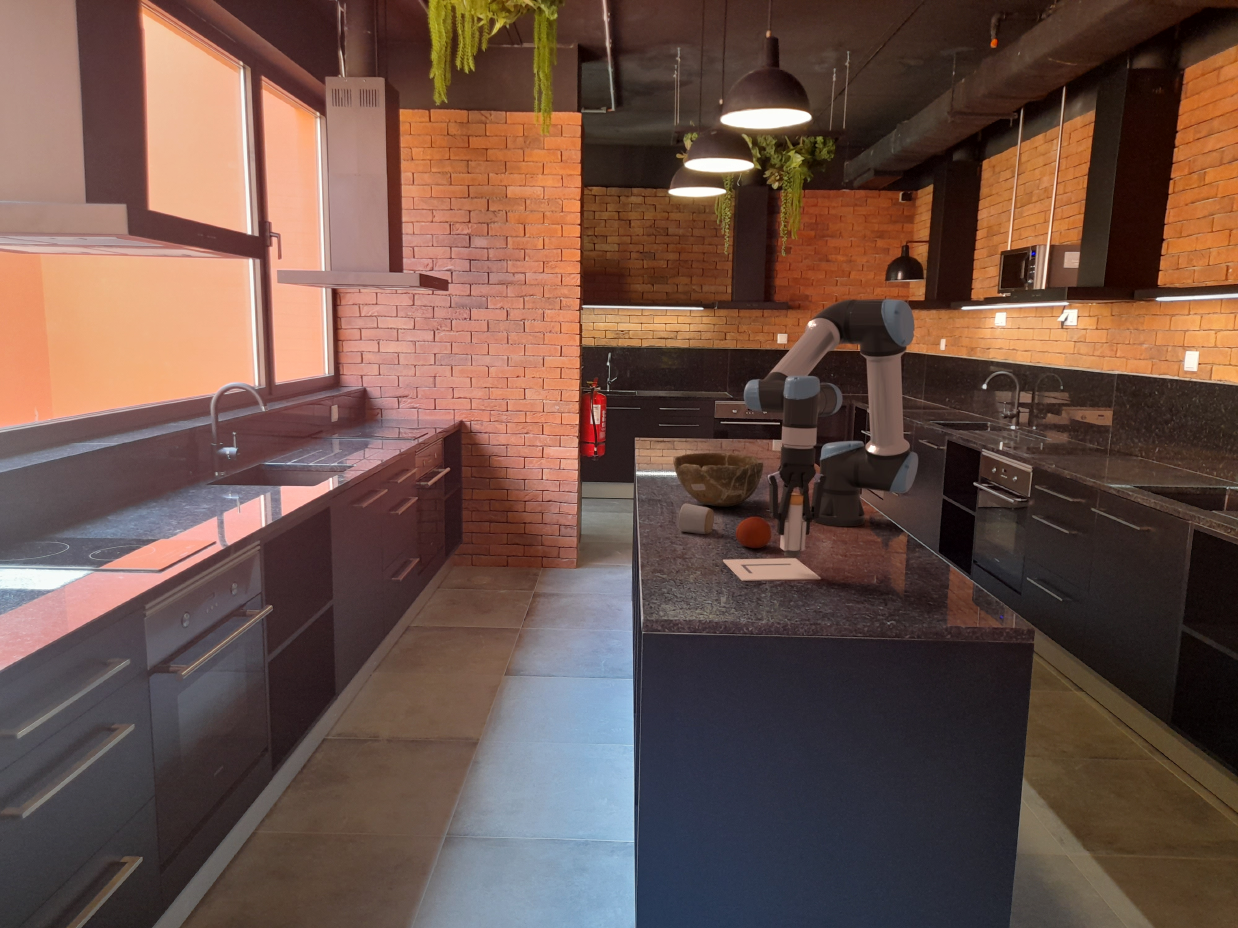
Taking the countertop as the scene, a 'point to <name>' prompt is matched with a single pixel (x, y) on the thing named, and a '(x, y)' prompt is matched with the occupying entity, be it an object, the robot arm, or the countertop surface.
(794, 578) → the paper
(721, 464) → the bowl
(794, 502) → the marker
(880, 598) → the countertop surface
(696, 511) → the ceramic mug
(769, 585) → the countertop surface
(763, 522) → the fruit
